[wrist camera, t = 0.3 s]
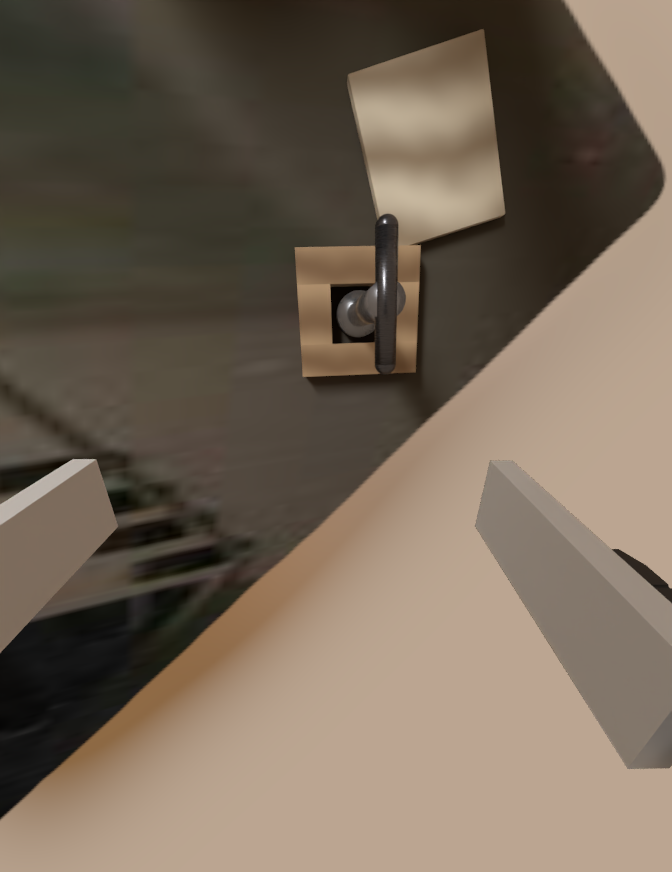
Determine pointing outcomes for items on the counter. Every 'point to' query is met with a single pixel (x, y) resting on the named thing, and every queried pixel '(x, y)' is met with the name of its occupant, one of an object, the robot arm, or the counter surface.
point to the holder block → (314, 301)
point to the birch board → (430, 138)
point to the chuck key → (378, 298)
